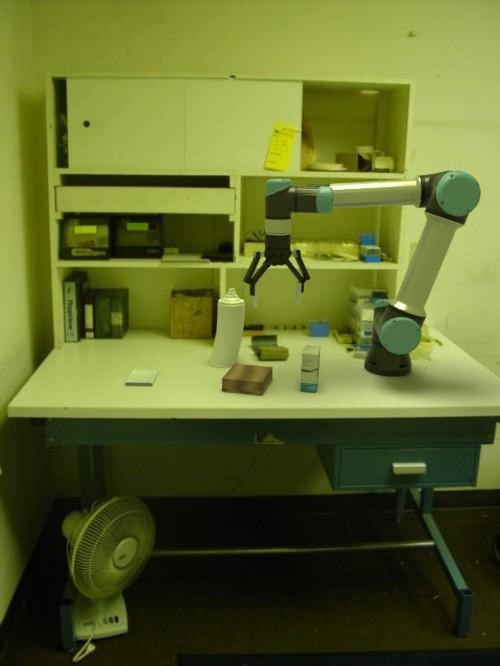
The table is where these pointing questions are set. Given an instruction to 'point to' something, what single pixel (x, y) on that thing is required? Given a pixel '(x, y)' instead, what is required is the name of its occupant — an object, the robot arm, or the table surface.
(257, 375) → the wooden block
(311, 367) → the ink box
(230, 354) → the spray can
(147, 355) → the table surface
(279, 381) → the table surface
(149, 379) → the hard drive
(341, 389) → the table surface
